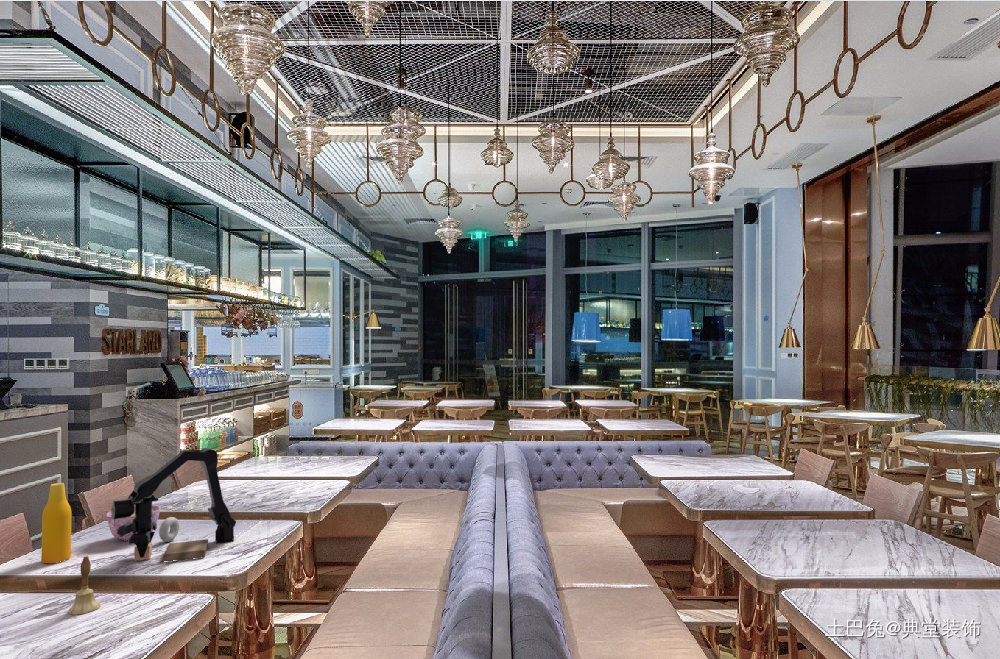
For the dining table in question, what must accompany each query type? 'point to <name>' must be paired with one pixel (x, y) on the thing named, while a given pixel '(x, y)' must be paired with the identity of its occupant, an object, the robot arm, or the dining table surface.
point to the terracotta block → (147, 553)
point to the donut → (164, 529)
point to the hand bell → (84, 593)
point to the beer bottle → (56, 526)
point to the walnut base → (186, 550)
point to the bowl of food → (119, 522)
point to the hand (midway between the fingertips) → (143, 555)
